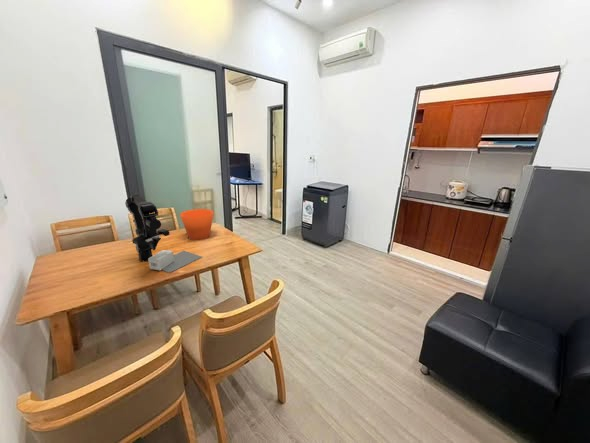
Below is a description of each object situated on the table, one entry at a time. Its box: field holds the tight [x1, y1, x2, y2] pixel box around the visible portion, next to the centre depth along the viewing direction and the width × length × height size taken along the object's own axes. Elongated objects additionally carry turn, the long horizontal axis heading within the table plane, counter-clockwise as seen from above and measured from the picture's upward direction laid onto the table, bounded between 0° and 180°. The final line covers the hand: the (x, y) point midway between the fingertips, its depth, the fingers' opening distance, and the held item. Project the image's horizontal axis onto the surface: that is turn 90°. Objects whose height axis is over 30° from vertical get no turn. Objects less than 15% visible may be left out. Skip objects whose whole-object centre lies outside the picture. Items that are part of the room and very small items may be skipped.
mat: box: [161, 250, 203, 274], centre depth 154 cm, size 24×18×1 cm
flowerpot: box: [179, 208, 215, 241], centre depth 192 cm, size 25×25×20 cm
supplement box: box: [147, 249, 175, 271], centre depth 147 cm, size 7×7×13 cm
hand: (154, 250), depth 140 cm, fingers closed
